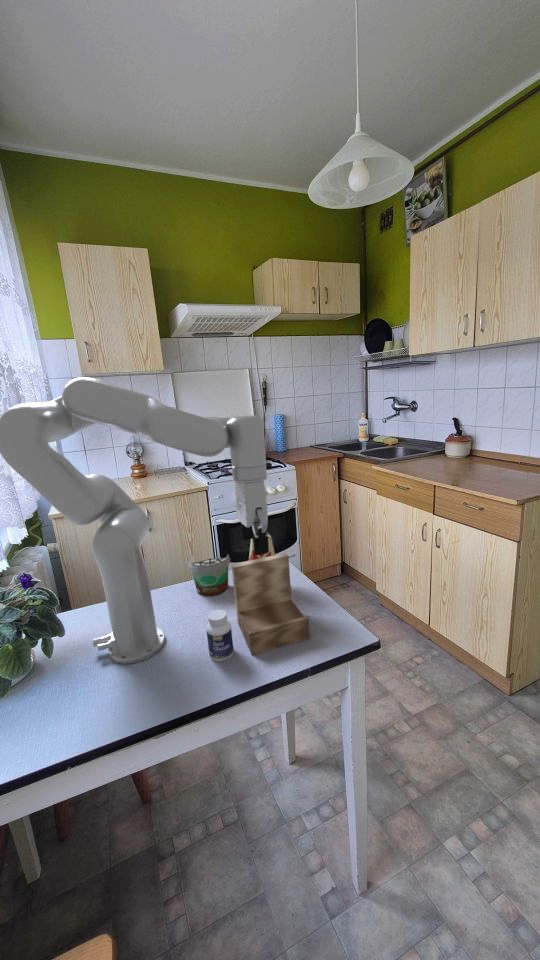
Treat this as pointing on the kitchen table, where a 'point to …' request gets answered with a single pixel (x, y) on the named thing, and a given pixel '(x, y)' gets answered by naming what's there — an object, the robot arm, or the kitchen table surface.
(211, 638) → the pill bottle
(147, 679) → the kitchen table surface
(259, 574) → the cardboard holder
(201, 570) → the food container
